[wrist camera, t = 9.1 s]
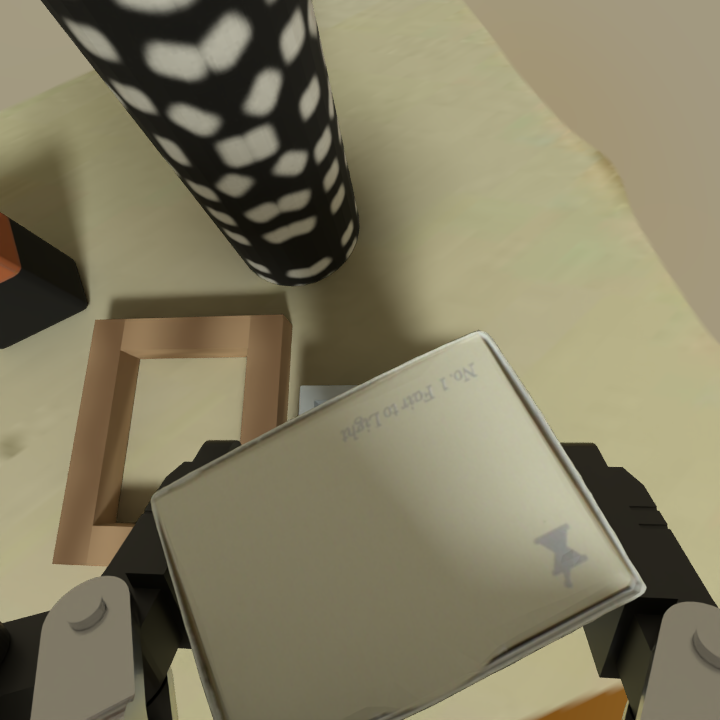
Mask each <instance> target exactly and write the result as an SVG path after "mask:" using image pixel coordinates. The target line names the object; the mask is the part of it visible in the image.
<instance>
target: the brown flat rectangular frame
mask: <svg viewBox="0 0 720 720" xmlns="http://www.w3.org/2000/svg"><path fill="white" fill-rule="evenodd" d="M291 341H292V325H291V323H290V322H289V321H288V320H287V318H286V317H285V316H284V315H283V314H281V315H246V316H211V317H177V318H142V319H107V320H95V325H94V331H93V337H92V342H91V348H90V354H89V359H88V365H87V371H86V376H85V382H84V387H83V393H82V399H81V404H80V410H79V416H78V421H77V427H76V433H75V438H74V444H73V450H72V455H71V461H70V467H69V472H68V478H67V483H66V489H65V495H64V500H63V506H62V512H61V517H60V523H59V529H58V534H57V540H56V546H55V551H54V557H53V563H52V564H65V565H89V566H108V565H109V564H110V562H111V561H112V559H113V558H114V556H115V554H116V553H117V551H118V550H119V548H120V547H121V545H122V544H123V542H124V541H125V539H126V538H127V536H128V535H129V533H130V532H131V530H132V528H133V527H134V525H135V524H136V523H116V519H117V512H118V505H119V498H120V491H121V484H122V478H123V471H124V464H125V457H126V450H127V444H128V437H129V430H130V423H131V416H132V409H133V403H134V396H135V389H136V382H137V375H138V369H139V362H140V359H157V358H215V357H247V366H246V378H245V390H244V402H243V414H242V426H241V438H240V443H241V445H243V444H245V443H247V442H249V441H251V440H253V439H255V438H257V437H259V436H261V435H262V434H264V433H266V432H268V431H270V430H272V429H274V428H276V427H277V426H279V425H281V424H283V423H285V422H287V410H288V393H289V375H290V358H291Z"/></svg>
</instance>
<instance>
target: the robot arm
mask: <svg viewBox="0 0 720 720" xmlns="http://www.w3.org/2000/svg"><path fill="white" fill-rule="evenodd" d="M560 444H561V446H562V447H563V449H564V451H565V452H566V454H567V455H568V457H569V458H570V460H571V461H572V463H573V465H574V466H575V468H576V470H577V471H578V472H579V474H580V475H581V477H582V479H583V481H584V483H585V485H586V487H587V488H588V490H589V491H590V492H591V494H592V496H593V498H594V500H595V501H596V503H597V505H598V507H599V508H600V510H601V511H602V513H603V514H604V516H605V518H606V520H607V522H608V523H609V525H610V526H611V528H612V529H613V531H614V532H615V534H616V536H617V537H618V539H619V541H620V543H621V545H622V547H623V549H624V551H625V552H626V554H627V556H628V558H629V560H630V561H631V563H632V564H633V566H634V567H635V569H636V570H637V572H638V573H639V575H640V577H641V578H642V580H643V582H644V584H645V585H646V587H647V588H646V590H645V592H644V594H642V595H641V596H639V597H638V598H636V599H635V600H632V601H630V602H628V603H626V604H624V605H622V606H620V607H618V608H616V609H614V610H612V611H610V612H608V613H606V614H604V615H603V616H601V617H599V618H598V619H596V620H595V621H593V622H591V623H589V624H586V625H584V626H583V628H584V631H585V634H586V637H587V640H588V643H589V646H590V650H591V653H592V656H593V659H594V662H595V665H596V668H597V671H598V674H599V677H602V678H617V679H621V681H622V684H623V687H624V689H625V692H626V695H627V698H628V701H627V704H626V706H625V710H624V714H623V718H622V720H720V609H719V608H718V607H717V605H716V604H715V602H714V601H713V599H712V598H711V596H710V594H709V593H708V591H707V589H706V588H705V586H704V584H703V583H702V581H701V579H700V578H699V576H698V574H697V573H696V571H695V569H694V568H693V566H692V565H691V563H690V561H689V560H688V558H687V556H686V555H685V553H684V551H683V550H682V548H681V546H680V545H679V543H678V541H677V540H676V538H675V536H674V535H673V533H672V531H671V530H670V529H668V527H667V523H666V521H665V520H664V518H663V516H662V515H661V513H660V511H657V508H656V507H657V506H656V505H655V503H654V502H653V500H652V498H651V497H650V495H649V493H648V492H647V490H646V488H645V487H644V485H643V484H642V483H640V482H639V481H638V480H637V479H636V478H634V477H633V476H632V475H631V474H630V473H629V472H627V471H626V470H625V469H624V468H623V467H608V466H607V464H606V462H605V460H604V459H603V457H602V455H601V453H600V451H599V449H598V448H597V446H596V445H595V444H594V443H560ZM239 446H241V443H240V442H239V441H237V440H208V441H206V442H205V443H204V444H203V445H202V447H201V449H200V450H199V452H198V454H197V455H196V457H195V458H194V460H193V462H183V463H182V464H181V465H180V466H179V467H178V468H176V469H175V470H174V471H173V472H172V473H170V474H169V475H168V476H167V477H166V478H165V480H164V481H163V483H162V484H161V486H160V487H159V489H158V490H160V489H162V488H163V487H165V486H167V485H170V484H171V483H173V482H174V481H176V480H178V479H180V478H182V477H183V476H185V475H187V474H188V473H190V472H192V471H194V470H196V469H198V468H200V467H202V466H204V465H206V464H208V463H209V462H211V461H213V460H215V459H217V458H219V457H221V456H223V455H225V454H226V453H228V452H230V451H232V450H234V449H235V448H237V447H239ZM158 490H157V491H158ZM144 511H145V512H144V514H142V515H141V516H140V518H139V519H138V521H137V522H136V524H135V525H134V527H133V528H132V530H131V532H130V533H129V535H128V536H127V538H126V539H125V541H124V542H123V544H122V545H121V547H120V548H119V550H118V551H117V553H116V554H115V556H114V558H113V559H112V561H111V562H110V564H109V565H108V567H107V568H106V570H105V571H104V573H103V574H102V575H101V577H96V578H93V579H90V580H88V581H85V582H83V583H81V584H79V585H78V586H76V587H74V588H73V589H72V590H70V591H69V592H68V593H66V594H65V595H64V596H63V597H62V598H61V599H60V600H59V601H58V602H57V603H56V604H55V605H54V606H53V608H52V609H51V610H50V611H47V612H43V613H40V614H36V615H32V616H28V617H24V618H21V619H17V620H13V621H9V622H5V623H1V622H0V720H179V719H178V712H177V704H176V696H175V688H174V680H173V674H172V669H171V667H170V665H171V663H172V661H173V658H174V656H175V654H176V651H177V649H178V648H186V649H192V648H191V644H190V641H189V637H188V634H187V631H186V629H185V625H184V622H183V618H182V614H181V610H180V607H179V604H178V600H177V597H176V593H175V589H174V586H173V582H172V579H171V576H170V573H169V569H168V565H167V561H166V558H165V554H164V550H163V547H162V543H161V540H160V537H159V533H158V530H157V527H156V523H155V519H154V515H153V512H152V507H151V501H150V502H149V504H148V506H147V507H146V509H145V510H144Z"/></svg>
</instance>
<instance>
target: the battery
mask: <svg viewBox="0 0 720 720" xmlns="http://www.w3.org/2000/svg"><path fill="white" fill-rule="evenodd" d="M86 308H87V300H86V297H85V294H84V291H83V287H82V284H81V281H80V277H79V274H78V271H77V267H76V264H75V262H74V260H73V259H72V258H70V257H69V256H67V255H66V254H64V253H63V252H61V251H59V250H58V249H56V248H55V247H53V246H52V245H50V244H49V243H47V242H46V241H44V240H42V239H41V238H39V237H38V236H36V235H35V234H33V233H32V232H30V231H29V230H27V229H25V228H24V227H22V226H21V225H19V224H18V223H16V222H15V221H13V220H12V219H10V218H8V217H7V216H5V215H4V214H2V213H1V212H0V349H4V348H7V347H9V346H11V345H13V344H15V343H17V342H19V341H21V340H23V339H25V338H27V337H29V336H31V335H34V334H36V333H38V332H40V331H42V330H44V329H46V328H48V327H50V326H52V325H54V324H56V323H58V322H60V321H62V320H64V319H66V318H69V317H71V316H73V315H75V314H77V313H79V312H81V311H83V310H84V309H86Z"/></svg>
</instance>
